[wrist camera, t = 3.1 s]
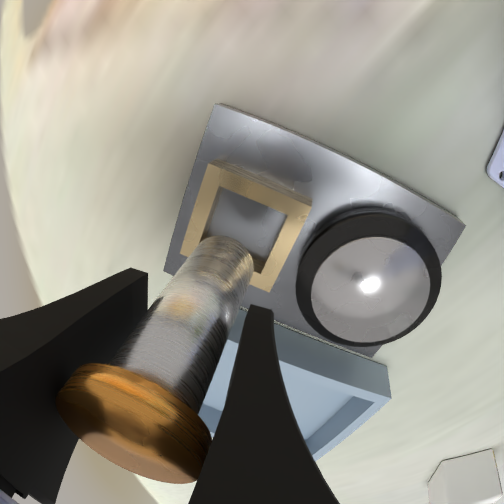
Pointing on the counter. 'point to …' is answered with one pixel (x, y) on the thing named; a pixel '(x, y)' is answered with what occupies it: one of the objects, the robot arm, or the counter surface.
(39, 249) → the counter surface
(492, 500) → the medicine bottle
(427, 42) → the counter surface
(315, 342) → the tray
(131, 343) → the lock pin
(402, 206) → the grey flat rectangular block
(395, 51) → the counter surface
